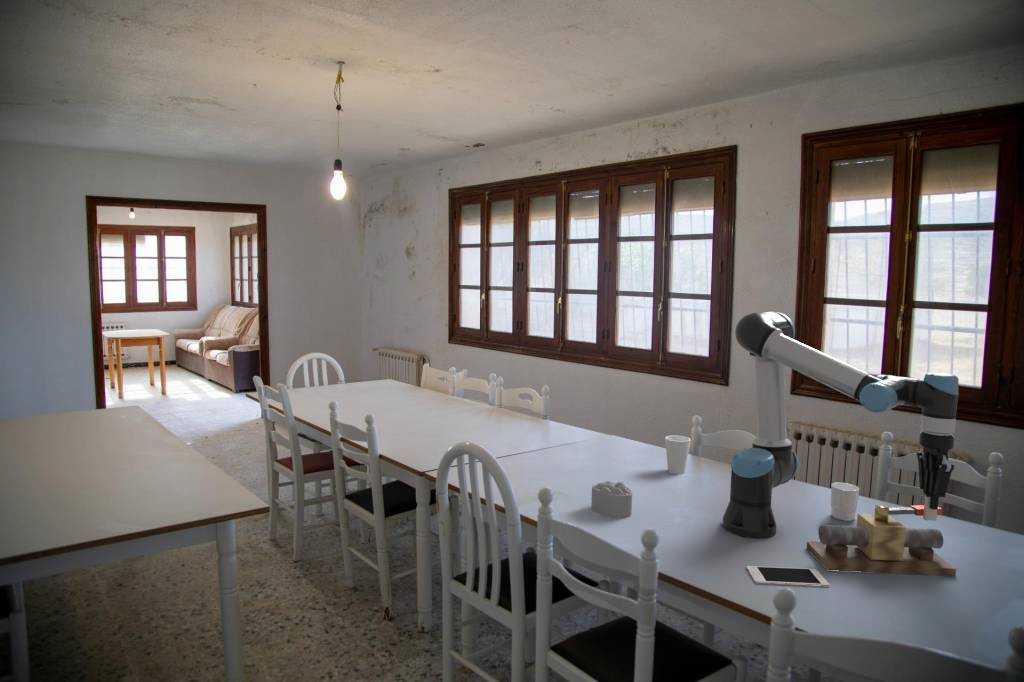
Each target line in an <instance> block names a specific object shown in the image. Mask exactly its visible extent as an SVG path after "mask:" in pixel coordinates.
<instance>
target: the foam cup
mask: <svg viewBox="0 0 1024 682" xmlns="http://www.w3.org/2000/svg"><path fill="white" fill-rule="evenodd" d="M691 441H692V440H691V438H690V437H688V436H683V435H677V434H676V435H667V436H665V439H664V445H665V451H666V453H665V454H666V464H667V471H668V473H671V474H674V475H683V474H685V473H686V472H685V471H686V468H687V464H688V457H689V454H690V447H691Z"/></svg>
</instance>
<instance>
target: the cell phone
mask: <svg viewBox="0 0 1024 682" xmlns="http://www.w3.org/2000/svg"><path fill="white" fill-rule="evenodd" d="M746 567H747V569H748V570H749V572H750V574H751V575H752V577H753V579H754V580H755V581H756V582H770V583H782V582H783V583H785V584H787V583H789V584H807V585H821V586H829V587H830V583H829V582H828V581H827V580H826V578H825V577H824V576H823V575H822V574H821V573H820V571H819V570H818V569H816V568H807V567H806V568H802V567H801V568H800V567H781V566H761V565H746V566H745V568H746ZM747 569H746V570H747ZM749 572H748V573H749ZM750 574H749V575H750ZM752 577H751V578H752ZM753 579H752V580H753ZM779 581H780V582H779Z"/></svg>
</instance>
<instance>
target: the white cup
mask: <svg viewBox="0 0 1024 682" xmlns="http://www.w3.org/2000/svg"><path fill="white" fill-rule="evenodd" d="M859 496H860V487H859V486H857V485H855V484H851V483H847V482H838V481H837V482H833V483H831V487H830V507H831V508H830V509H831V510H830V515H832V516H831V517H833V518H834V519H836V520H839V521H847V522H848V521H849V522H851V521H854V520H856V512H857V508H858V503H859Z"/></svg>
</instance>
